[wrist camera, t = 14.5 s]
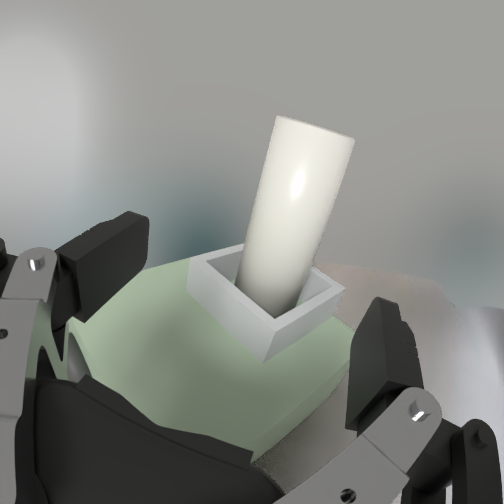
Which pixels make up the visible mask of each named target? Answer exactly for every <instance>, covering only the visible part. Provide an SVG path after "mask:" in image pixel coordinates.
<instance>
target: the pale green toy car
mask: <svg viewBox="0 0 504 504" xmlns="http://www.w3.org/2000/svg"><path fill="white" fill-rule="evenodd" d="M243 247H244V243H243V244H239V245H236V246H232V247H228V248H224V249H221V250H217V251H213V252H209V253H205V254H202V255H198V256H194V257H191V258H187V259H183V260H180V261H176V262H172V263H168V264H165V265H161V266H158V267H154V268H150V269H146V270H143V271H140V272H139V273H138V274H137V275H136V276H135V277H134V278H133V279H132V280H131V281H129V282H128V283H127V284H126V285H125V286H124V287H123V288H122V289H121V290H120V291H119V292H117V293H116V294H115V295H114V296H113V297H112V298H111V299H110V300H109V301H108V302H107V303H106V304H104V305H103V306H102V307H101V308H100V309H99V310H98V311H97V312H96V313H95V314H94V315H93V316H92V317H91V318H90V319H89V320H88V321H87V322H86V323H83V322H81V321H79V320H78V319H76V318H74V317H73V316H72V317H71V318H70V319H69V320H68V323H69V336H68V351H67V377H68V380H69V381H73V382H77V383H78V382H79V381H80V380H81V379H82V378H83V376H84V375H85V374H87V375H89V376H90V377H92V378H94V379H95V380H97V381H99V382H100V383H102V384H104V385H105V386H107V387H109V388H110V389H112V390H114V391H116V392H118V393H119V394H121V395H122V396H123V397H124V398H125V399H127V400H128V401H129V402H130V403H131V404H132V405H133V406H134V407H136V408H137V409H138V410H139V411H140V412H141V413H143V414H144V415H145V416H146V417H147V418H149V419H150V420H151V421H152V422H154V423H155V424H157V425H159V426H162V427H167V428H171V429H176V430H181V431H186V432H191V433H197V434H203V435H208V436H211V437H214V438H216V439H219V440H222V441H224V442H227V443H230V444H233V445H236V446H238V447H241V448H244V449H247V450H251V451H254V453H253V456H252V459H251V462H250V463H253V462H254V461H255V460H257V459H258V458H259V457H261V456H262V455H263V454H264V453H266V452H267V451H268V450H269V449H271V448H272V447H273V446H274V445H276V444H277V443H278V442H279V441H280V440H282V439H283V438H284V437H285V436H286V435H287V434H289V433H290V432H291V431H292V430H293V429H294V428H296V427H297V426H298V425H299V424H300V423H301V422H302V421H303V420H305V419H306V418H307V417H308V416H309V415H310V414H311V413H312V412H313V411H314V410H315V409H316V408H318V407H319V406H320V405H321V404H322V403H323V402H324V401H325V400H326V399H327V398H328V397H329V396H330V395H331V393H332V392H333V391H334V389H335V388H336V387H337V385H338V384H339V382H340V381H341V380H342V378H343V377H344V375H345V374H346V372H347V371H348V369H349V366H350V347H351V342H352V339H353V336H354V334H355V331H354V330H352V329H351V328H350V327H348V326H347V325H345V324H344V323H343V322H341V321H340V320H339V319H337V318H336V317H334V316H333V314H334V311H335V309H336V307H337V305H338V303H339V301H340V299H341V297H342V295H343V293H344V291H345V289H346V288H345V287H343V286H342V285H340V284H339V283H337V282H336V281H334V280H333V279H331V278H330V277H328V276H327V275H325V274H324V273H322V272H321V271H319V270H318V269H316V268H315V267H313V266H311V269H310V271H309V274H308V277H307V279H306V282H305V284H304V287H303V289H302V292H301V294H300V297H299V299H298V302H297V304H296V307H295V308H294V309H292V310H290V311H288V312H287V313H285V314H283V315H281V316H279V317H278V318H276V319H274V318H273V317H272V316H270V315H269V314H268V313H267V312H266V311H264V310H263V309H262V308H261V307H259V306H258V305H257V304H256V303H255V302H253V301H252V300H251V299H250V298H249V297H247V296H246V295H245V294H244V293H243V292H241V291H240V290H239V289H238V288H237V287H236V286H234V284H235V279H236V275H237V271H238V267H239V263H240V259H241V255H242V251H243Z"/></svg>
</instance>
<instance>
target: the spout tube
mask: <svg viewBox="0 0 504 504" xmlns="http://www.w3.org/2000/svg"><path fill="white" fill-rule="evenodd" d="M354 142H355V139H354V138H352V137H350V136H347V135H345V134H342V133H340V132H337V131H334V130H331V129H328V128H325V127H322V126H319V125H316V124H312V123H309V122H305V121H302V120H297V119H294V118H289V117H284V116H277V117H276V121H275V124H274V128H273V133H272V136H271V140H270V144H269V148H268V152H267V156H266V159H265V163H264V167H263V171H262V175H261V179H260V183H259V187H258V191H257V195H256V199H255V203H254V207H253V211H252V215H251V219H250V223H249V227H248V231H247V235H246V239H245V243H244V247H243V251H242V255H241V259H240V263H239V267H238V271H237V275H236V279H235V284H234V286H236V287H237V288H238V289H239V290H240V291H241V292H243V293H244V294H245V295H246V296H247V297H249V298H250V299H251V300H252V301H253V302H255V303H256V304H257V305H258V306H259V307H261V308H262V309H263V310H264V311H266V312H267V313H268V314H269V315H270V316H272V317H273V318H274V319H276V318H278V317H279V316H281V315H283V314H285V313H287V312H288V311H290V310H292V309H294V308H295V307H296V304H297V302H298V299H299V297H300V294H301V292H302V289H303V287H304V284H305V282H306V279H307V277H308V274H309V271H310V269H311V266H312V264H313V261H314V258H315V256H316V253H317V250H318V248H319V245H320V242H321V240H322V237H323V234H324V231H325V229H326V226H327V223H328V220H329V217H330V215H331V212H332V209H333V206H334V203H335V200H336V197H337V194H338V191H339V189H340V186H341V182H342V180H343V177H344V173H345V171H346V167H347V164H348V161H349V158H350V155H351V152H352V149H353V145H354Z"/></svg>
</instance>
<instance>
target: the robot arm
mask: <svg viewBox="0 0 504 504" xmlns="http://www.w3.org/2000/svg"><path fill="white" fill-rule="evenodd" d="M148 236H149V219H148V218H147V217H146V216H142V215H140V214H137V213H134V212H131V211H127V212H125V213H123V214H122V215H120V216H118V217H116V218H115V219H113V220H109V221H105V222H102V223H99V224H97V225H96V226H94V227H92V228H90V230H87V231H85V232H84V233H82V235H79V236H77V237H75V238H74V239H72V240H71V241H69V242H67V243H66V244H64V245H63V246H61V247H59V248H58V249H56V250H55V251H53V250H51V249H48V248H42V247H39V248H32V249H29V250H26V251H24V252H23V253H21V254H20V255H19V256H14V255H10V254H7V253H6V248H5V243H4V240H3V239H1V238H0V504H391V503H392V501H393V500H394V499H395V498H396V497H397V495H398V494H399V493H400V492H401V490H402V497H401V504H446V487H448V486H450V485H451V484H452V504H503V498H502V482H501V472H500V463H499V455H498V448H497V442H496V437H495V434H494V432H493V431H492V429H491V428H490V426H489V425H488V424H487V423H485V422H484V421H482V420H479V419H472V420H470V421H468V422H467V423H466V424H465V425H464V426H463V427H461V428H460V427H458V426H456V425H454V424H452V423H450V422H449V421H447V420H445V419H443V418H442V411H441V407H440V405H439V403H438V401H437V400H436V399H435V397H434V396H433V395H431V394H430V393H429V392H427V391H426V390H424V385H423V379H422V374H421V368H420V363H419V358H417V357H418V352H417V348H416V343H415V338H414V334H413V332H412V331H411V329H410V328H409V326H408V324H407V323H406V322H404V321H401V316H400V311H399V306H398V304H397V303H394V302H391V301H389V300H386V299H383V298H380V297H376V298H375V299H374V300H373V301H372V303H371V305H370V307H369V309H368V310H367V312H366V314H365V316H364V318H363V319H362V321H361V323H360V325H359V326H358V328H357V330H356V332H355V334H354V336H353V339H352V342H351V347H350V366H349V385H348V400H347V412H346V423H345V429H349V430H354V431H357V438H356V439H355V440H354V441H353V442H352V443H351V444H350V445H349V446H348V447H346V448H345V449H344V450H343V451H342V452H341V453H340V454H338V455H337V456H336V457H335V458H334V459H332V460H331V461H330V462H329V463H328V464H326V465H325V466H324V467H323V468H321V469H320V470H319V471H318V472H316V473H315V474H314V475H312V476H311V477H310V478H308V479H307V480H306V481H304V482H303V483H302V484H300V485H299V486H298V487H296V488H295V489H293V490H292V491H291V492H289V493H288V494H286V495H285V493H284V492H283V490H282V489H281V488H280V486H279V485H278V484H277V483H276V482H275V481H274V480H273V479H272V478H271V477H270V476H269V475H268V474H267V473H265V472H264V471H262V470H261V469H260V468H258V467H257V466H255V465H253V464H252V463H250V462H251V459H252V456H253V453H254V451H251V450H247V449H244V448H241V447H238V446H236V445H233V444H230V443H227V442H224V441H222V440H219V439H216V438H214V437H211V436H208V435H203V434H197V433H191V432H186V431H181V430H176V429H171V428H167V427H162V426H159V425H157V424H155V423H154V422H152V421H151V420H150V419H149V418H147V417H146V416H145V415H144V414H143V413H141V412H140V411H139V410H138V409H137V408H136V407H134V406H133V405H132V404H131V403H130V402H129V401H128V400H127V399H125V398H124V397H123V396H122V395H121V394H119V393H118V392H116V391H114V390H112V389H110V388H109V387H107V386H105V385H104V384H102V383H100V382H99V381H97V380H95V379H94V378H92V377H90V376H89V375H87V374H85V375H84V376H83V378H82V379H81V380H80V381H79V382H78V383H77V382H73V381H69V380H68V377H67V351H68V336H69V323H68V320H69V319H70V318H71V317H72V316H73V317H74V318H76V319H78V320H79V321H81V322H83V323H86V322H87V321H88V320H89V319H90V318H91V317H92V316H93V315H94V314H95V313H96V312H97V311H98V310H99V309H100V308H101V307H102V306H103V305H104V304H106V303H107V302H108V301H109V300H110V299H111V298H112V297H113V296H114V295H115V294H116V293H117V292H119V291H120V290H121V289H122V288H123V287H124V286H125V285H126V284H127V283H128V282H129V281H131V280H132V279H133V278H134V277H135V276H136V275H137V274H138V273H139V272H140V271H141V270H142V269H143V267H144V265H145V263H146V260H147V252H148Z"/></svg>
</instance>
